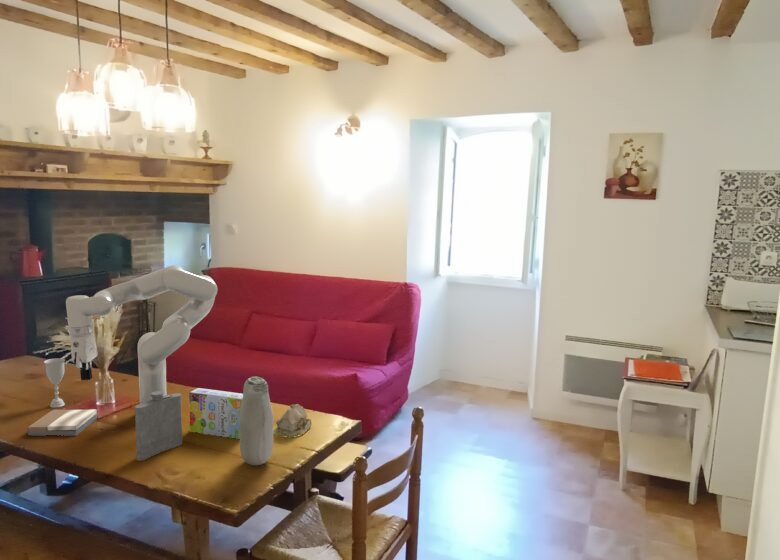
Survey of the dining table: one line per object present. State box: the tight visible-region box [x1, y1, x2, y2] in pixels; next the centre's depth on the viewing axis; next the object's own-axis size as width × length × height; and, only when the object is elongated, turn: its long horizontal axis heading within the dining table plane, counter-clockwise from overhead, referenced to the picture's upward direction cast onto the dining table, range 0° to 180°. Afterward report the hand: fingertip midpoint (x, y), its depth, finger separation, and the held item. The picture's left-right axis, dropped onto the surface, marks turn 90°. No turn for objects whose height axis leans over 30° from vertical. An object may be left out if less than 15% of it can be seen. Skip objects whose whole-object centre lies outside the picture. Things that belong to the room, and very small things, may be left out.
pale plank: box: [47, 408, 98, 431], centre depth 198 cm, size 10×15×2 cm, turn 3°
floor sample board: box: [27, 409, 99, 437], centre depth 198 cm, size 16×16×3 cm
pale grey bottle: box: [239, 376, 274, 466], centre depth 174 cm, size 10×10×28 cm
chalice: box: [43, 357, 66, 409], centre depth 216 cm, size 7×7×18 cm
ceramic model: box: [273, 403, 313, 438], centre depth 200 cm, size 14×11×10 cm
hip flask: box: [134, 391, 183, 462], centre depth 181 cm, size 16×4×20 cm, turn 146°
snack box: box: [189, 387, 243, 440], centre depth 196 cm, size 21×6×15 cm, turn 74°
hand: (86, 379), depth 201 cm, fingers closed
